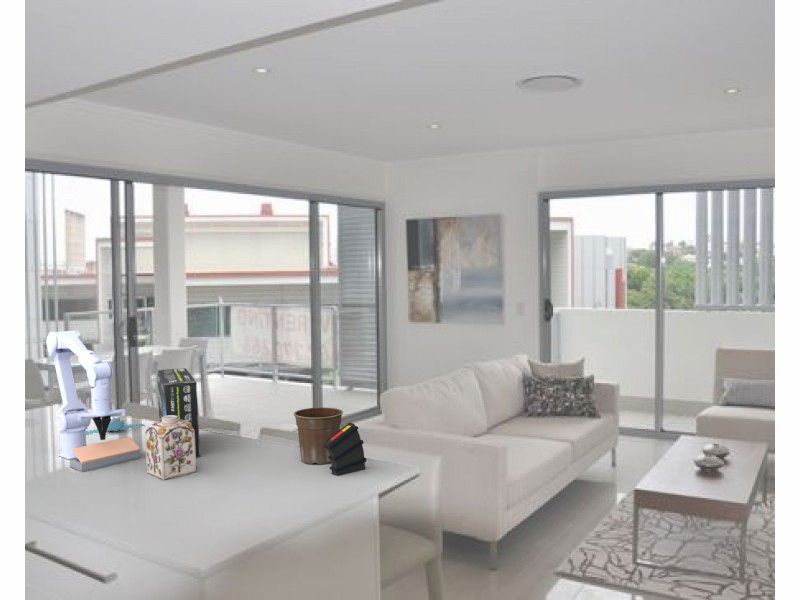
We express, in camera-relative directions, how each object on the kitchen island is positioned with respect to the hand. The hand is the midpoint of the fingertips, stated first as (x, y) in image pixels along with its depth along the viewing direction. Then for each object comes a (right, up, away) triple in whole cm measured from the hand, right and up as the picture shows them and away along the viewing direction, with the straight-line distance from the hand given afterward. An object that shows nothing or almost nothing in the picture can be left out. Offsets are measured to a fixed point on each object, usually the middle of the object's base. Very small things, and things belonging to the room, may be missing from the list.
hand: (102, 439), depth 234 cm
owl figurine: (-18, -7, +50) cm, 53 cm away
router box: (+19, -7, +20) cm, 29 cm away
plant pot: (+73, -7, -1) cm, 73 cm away
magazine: (+82, -7, -16) cm, 84 cm away
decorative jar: (+27, -9, -12) cm, 30 cm away
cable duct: (0, -8, +2) cm, 9 cm away
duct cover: (+1, -4, +1) cm, 4 cm away
